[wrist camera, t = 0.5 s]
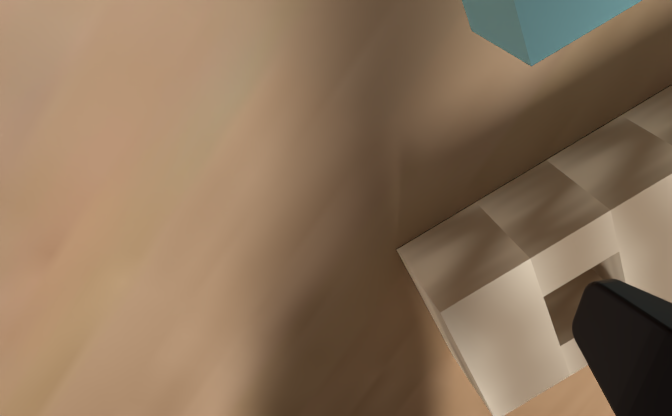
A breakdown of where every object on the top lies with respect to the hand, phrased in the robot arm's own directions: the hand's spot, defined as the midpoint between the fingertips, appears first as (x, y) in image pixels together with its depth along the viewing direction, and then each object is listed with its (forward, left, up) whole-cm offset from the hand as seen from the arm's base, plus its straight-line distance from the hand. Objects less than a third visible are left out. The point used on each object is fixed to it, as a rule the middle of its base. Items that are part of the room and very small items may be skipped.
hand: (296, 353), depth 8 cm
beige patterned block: (-16, -12, -13) cm, 24 cm away
